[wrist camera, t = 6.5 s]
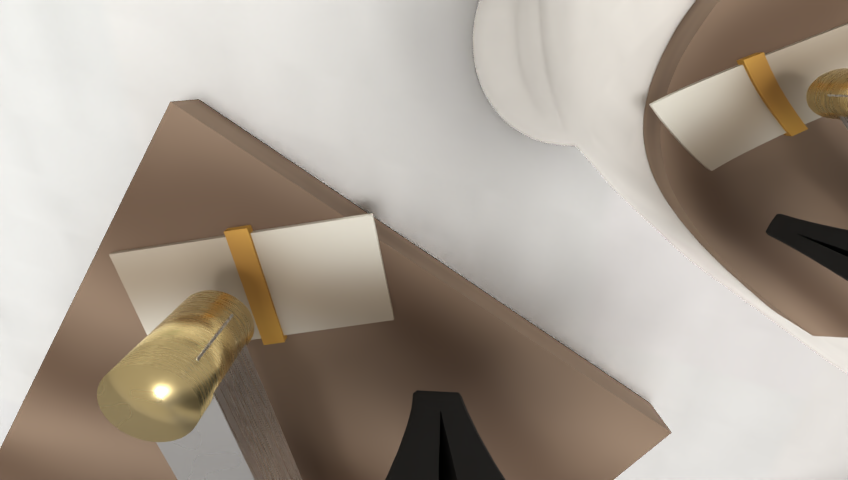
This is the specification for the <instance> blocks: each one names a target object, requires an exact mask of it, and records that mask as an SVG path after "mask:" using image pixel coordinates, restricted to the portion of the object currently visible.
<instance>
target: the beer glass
mask: <svg viewBox="0 0 848 480" xmlns="http://www.w3.org/2000/svg"><path fill="white" fill-rule="evenodd" d="M473 58H474V64H475V69H476V73H477V77H478V80H479V83H480V85H481V88H482V90H483V92H484V94H485V96H486V98H487V100H488V101H489V103H490V105H491V106H492V107H493V109H494V110H495V111H496V113H497V114H498V115H499V116H500V117H501V118H502V119H503V120H504V121H505V122H506V123H507V124H508V125H510V126H511V127H512V128H513V129H515V130H516V131H518V132H520V133H521V134H523V135H525V136H527V137H529V138H532V139H534V140H537V141H540V142H544V143H548V144H553V145H562V146H576V147H577V148H578V149H579V151H580V152H581V153H582V154H583V155H584V156H585V158H586V159H587V160H588V161H589V162H590V163H591V165H592V166H593V167H594V168H595V169H596V170H597V172H598V173H599V174H600V175H601V176H602V177H603V179H604V180H605V181H606V182H607V183H608V184H609V185H610V186H611V188H612V189H613V190H614V191H615V192H616V193H617V194H618V195H619V196H620V197H621V198H622V199H623V200H624V201H626V202H627V203H628V204H629V205H630V206H631V207H632V208H633V209H634V210H635V211H636V212H637V213H638V214H639V215H640V216H641V217H643V218H644V219H645V220H646V221H647V222H648V223H649V224H650V225H651V226H652V227H653V228H654V229H655V230H656V231H657V232H658V233H660V234H661V235H662V236H663V237H664V238H665V239H666V240H667V241H668V242H669V243H670V244H671V245H672V246H673V247H674V248H675V249H677V250H678V251H679V252H680V253H681V254H682V255H683V256H685V257H686V258H687V259H688V260H689V261H690V262H692V263H693V264H694V265H696V266H697V267H698V268H700V269H701V270H702V271H704V272H705V273H707V274H708V275H709V276H711V277H712V278H713V279H715V280H716V281H718V282H719V283H720V284H722V285H723V286H724V287H726V288H727V289H728V290H730V291H731V292H733V293H734V294H735V295H737V296H738V297H739V298H741V299H742V300H744V301H745V302H746V303H748V304H749V305H750V306H752V307H753V308H755V309H756V310H757V311H759V312H760V313H761V314H763V315H764V316H766V317H767V318H768V319H770V320H771V321H772V322H774V323H775V324H776V325H778V326H779V327H781V328H782V329H783V330H785V331H786V332H787V333H789V334H790V335H792V336H793V337H794V338H796V339H797V340H798V341H800V342H801V343H803V344H804V345H805V346H807V347H808V348H809V349H811V350H812V351H814V352H815V353H816V354H818V355H819V356H820V357H822V358H823V359H824V360H826V361H827V362H829V363H830V364H832V365H834V366H835V367H837V368H838V369H840V370H841V371H843V372H844V373H846V374H848V0H479V3H478V6H477V10H476V14H475V19H474V25H473Z"/></svg>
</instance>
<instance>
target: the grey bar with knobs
mask: <svg viewBox="0 0 848 480" xmlns="http://www.w3.org/2000/svg"><path fill="white" fill-rule="evenodd" d="M253 334H254V321H253V317H252V315H251V313H250V311H249V310H248V308H247V307H246V306H245V305H244V304H243V303H242V302H241V301H240V300H238V299H237V298H235V297H234V296H232V295H230V294H227V293H224V292H221V291H215V290H205V291H200V292H197V293H194V294H192V295H191V296H189V297H188V298H187V299H185V300H184V301H183V302H182V303H181V304H180V305H179V306H178V307H177V308H176V309H175V310H174V311H173V312H172V313H171V314H170V315H169V316H168V317H166V318H165V319H164V320H163V321H162V322H161V323H160V324H159V325H158V326H157V327H156V328H155V329H154V330H153V331H152V332H151V333H150V334H148V335H147V336H146V337H145V338H144V339H143V340H142V341H141V342H140V343H139V344H138V345H137V346H136V347H135V348H134V349H133V350H132V351H130V352H129V353H128V354H127V355H126V356H125V357H124V358H123V359H122V360H121V361H120V362H119V363H118V364H117V365H116V366H115V367H114V368H113V369H111V370H110V371H109V372H108V373H107V374H106V375H105V376H104V377H103V378H102V380H101V382H100V383H99V386H98V389H97V400H98V404H99V407H100V409H101V411H102V413H103V414H104V416H105V417H106V418H107V420H108V421H109V422H110V423H111V424H112V425H114V426H115V427H116V428H118V429H119V430H120V431H122V432H124V433H125V434H128V435H130V436H132V437H134V438H137V439H141V440H144V441H150V442H156V443H157V445H158V447H159V448H160V450H161V452H162V454H163V455H164V457H165V459H166V460H167V462H168V464H169V466H170V467H171V469H172V471H173V473H174V474H175V476H176V478H177V480H302V478H301V475H300V473H299V470H298V468H297V466H296V463H295V461H294V459H293V456H292V454H291V451H290V449H289V447H288V444H287V442H286V439H285V437H284V435H283V432H282V430H281V427H280V425H279V423H278V420H277V418H276V416H275V413H274V411H273V408H272V406H271V404H270V401H269V399H268V396H267V394H266V392H265V389H264V387H263V384H262V382H261V380H260V377H259V375H258V373H257V370H256V368H255V365H254V363H253V361H252V358H251V356H250V353H249V351H248V349H247V345H248V344H249V342H250V341H251V339H252V337H253Z"/></svg>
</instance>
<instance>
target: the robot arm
mask: <svg viewBox="0 0 848 480" xmlns="http://www.w3.org/2000/svg"><path fill="white" fill-rule="evenodd" d="M385 480H505V478H504V477H503V475H502V473H501V472H500V470H499V469H498V467H497V465H496V464H495V462H494V460H493V459H492V457H491V455H490V453H489V452H488V450H487V448H486V446H485V444H484V443H483V441H482V439H481V437H480V435H479V433H478V431H477V429H476V427H475V425H474V423H473V421H472V419H471V417H470V415H469V413H468V410H467V408H466V406H465V403H464V401H463V398H462V396H461V395H460V394H459V392H440V391H420V390H417V391H415V392H414V393H413V398H412V407H411V412H410V416H409V419H408V423H407V426H406V429H405V432H404V435H403V438H402V441H401V444H400V446H399V449H398V452H397V454H396V456H395V459H394V461H393V463H392V465H391V468H390V470H389V472H388V475H387V477H386V479H385Z"/></svg>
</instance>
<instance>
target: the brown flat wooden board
mask: <svg viewBox="0 0 848 480" xmlns="http://www.w3.org/2000/svg"><path fill="white" fill-rule="evenodd" d="M205 290H215V291H221V292H224V293H227V294H230V295H232V296H234V297H235V298H237V299H238V300H240V301H241V302H242V303H243V304H244V305H245V306H246V307H247V308H248V310H249V311H250V313H251V315H252V317H253V321H254V334H253V337H252V339H251V341H250V342H249V344H248V345H247V349H248V351H249V353H250V356H251V358H252V361H253V363H254V365H255V368H256V370H257V373H258V375H259V377H260V380H261V382H262V384H263V387H264V389H265V392H266V394H267V396H268V399H269V401H270V404H271V406H272V408H273V411H274V413H275V416H276V418H277V420H278V423H279V425H280V427H281V430H282V432H283V435H284V437H285V439H286V442H287V444H288V447H289V449H290V451H291V454H292V456H293V459H294V461H295V463H296V466H297V468H298V470H299V473H300V475H301V478H302V480H385V479H386V477H387V475H388V472H389V470H390V468H391V465H392V463H393V461H394V459H395V456H396V454H397V452H398V449H399V446H400V444H401V441H402V438H403V435H404V432H405V429H406V426H407V423H408V419H409V416H410V412H411V407H412V398H413V393H414V392H415V391H417V390H420V391H440V392H459V394H460V395H461V396H462V398H463V401H464V403H465V406H466V408H467V410H468V413H469V415H470V417H471V419H472V421H473V423H474V425H475V427H476V429H477V431H478V433H479V435H480V437H481V439H482V441H483V443H484V444H485V446H486V448H487V450H488V452H489V453H490V455H491V457H492V459H493V460H494V462H495V464H496V465H497V467H498V469H499V470H500V472H501V473H502V475H503V477H504V478H505V480H614V479H615V478H616V477H617V476H619V475H620V474H621V473H622V472H623V471H625V470H626V469H627V468H628V467H630V466H631V465H632V464H633V463H635V462H636V461H637V460H638V459H640V458H641V457H642V456H643V455H645V454H646V453H647V452H648V451H649V450H651V449H652V448H653V447H654V446H656V445H657V444H658V443H659V442H661V441H662V440H663V439H664V438H666V437H667V436H668V435H669V434H670V433H671V431H670V430H669V428H668V427H667V426H666V424H665V423H664V422H663V420H662V419H661V417H660V416H659V415H658V413H657V412H656V411H655V409H654V408H653V406H652V405H651V404H650V403H649V402H648V401H646V400H645V399H643V398H642V397H640V396H639V395H637V394H636V393H634V392H633V391H631V390H630V389H628V388H627V387H625V386H624V385H622V384H621V383H619V382H618V381H616V380H615V379H613V378H612V377H610V376H609V375H607V374H606V373H604V372H603V371H601V370H600V369H598V368H597V367H596V366H594V365H593V364H591V363H590V362H588V361H587V360H585V359H584V358H582V357H581V356H579V355H578V354H576V353H575V352H573V351H572V350H570V349H569V348H567V347H566V346H564V345H563V344H561V343H560V342H558V341H557V340H555V339H554V338H552V337H551V336H549V335H548V334H546V333H545V332H544V331H542V330H541V329H539V328H538V327H536V326H535V325H533V324H532V323H530V322H529V321H527V320H526V319H524V318H523V317H521V316H520V315H518V314H517V313H515V312H514V311H512V310H511V309H509V308H508V307H506V306H505V305H503V304H502V303H500V302H499V301H497V300H496V299H494V298H493V297H491V296H490V295H489V294H487V293H486V292H484V291H483V290H481V289H480V288H478V287H477V286H475V285H474V284H472V283H471V282H469V281H468V280H466V279H465V278H463V277H462V276H460V275H459V274H457V273H456V272H454V271H453V270H451V269H450V268H448V267H447V266H445V265H444V264H442V263H441V262H439V261H438V260H437V259H435V258H434V257H432V256H431V255H429V254H428V253H426V252H425V251H423V250H422V249H420V248H419V247H417V246H416V245H414V244H413V243H411V242H410V241H408V240H407V239H405V238H404V237H402V236H401V235H399V234H398V233H396V232H395V231H393V230H392V229H390V228H389V227H387V226H386V225H384V224H383V223H382V222H380V221H379V220H377V219H376V218H374V216H373V213H369V214H368V213H367V212H365V211H364V210H362V209H361V208H359V207H358V206H356V205H355V204H353V203H352V202H350V201H349V200H347V199H346V198H344V197H343V196H341V195H340V194H338V193H337V192H335V191H334V190H332V189H331V188H329V187H328V186H327V185H325V184H324V183H322V182H321V181H319V180H318V179H316V178H315V177H313V176H312V175H310V174H309V173H307V172H306V171H304V170H303V169H301V168H300V167H298V166H297V165H295V164H294V163H292V162H291V161H289V160H288V159H286V158H285V157H283V156H282V155H280V154H279V153H277V152H276V151H275V150H273V149H272V148H270V147H269V146H267V145H266V144H264V143H263V142H261V141H260V140H258V139H257V138H255V137H254V136H252V135H251V134H249V133H248V132H246V131H245V130H243V129H242V128H240V127H239V126H237V125H236V124H234V123H233V122H231V121H230V120H228V119H227V118H225V117H224V116H222V115H221V114H220V113H218V112H217V111H215V110H214V109H212V108H211V107H209V106H208V105H206V104H205V103H203V102H202V101H200V100H199V99H197V100H185V101H174V102H170V104H169V106H168V108H167V110H166V112H165V114H164V116H163V118H162V120H161V122H160V124H159V126H158V128H157V130H156V132H155V134H154V136H153V138H152V140H151V142H150V144H149V146H148V148H147V151H146V153H145V155H144V157H143V159H142V161H141V163H140V165H139V167H138V169H137V171H136V173H135V175H134V177H133V179H132V181H131V183H130V185H129V187H128V189H127V191H126V193H125V195H124V197H123V199H122V202H121V204H120V206H119V208H118V210H117V212H116V214H115V216H114V218H113V220H112V222H111V224H110V226H109V228H108V230H107V232H106V234H105V236H104V238H103V240H102V242H101V244H100V246H99V248H98V250H97V252H96V255H95V257H94V259H93V261H92V263H91V265H90V267H89V269H88V271H87V273H86V275H85V277H84V279H83V281H82V283H81V285H80V287H79V289H78V291H77V293H76V295H75V297H74V299H73V301H72V303H71V305H70V308H69V310H68V312H67V314H66V316H65V318H64V320H63V322H62V324H61V326H60V328H59V330H58V332H57V334H56V336H55V338H54V340H53V342H52V344H51V346H50V348H49V350H48V352H47V354H46V356H45V359H44V361H43V363H42V365H41V367H40V369H39V371H38V373H37V375H36V377H35V379H34V381H33V383H32V385H31V387H30V389H29V391H28V393H27V395H26V397H25V399H24V401H23V403H22V405H21V407H20V409H19V412H18V414H17V416H16V418H15V420H14V422H13V424H12V426H11V428H10V430H9V432H8V434H7V436H6V438H5V440H4V442H3V444H2V446H1V448H0V480H177V478H176V476H175V474H174V473H173V471H172V469H171V467H170V466H169V464H168V462H167V460H166V459H165V457H164V455H163V454H162V452H161V450H160V448H159V447H158V445H157V443H156V442H150V441H144V440H141V439H137V438H134V437H132V436H130V435H128V434H125V433H124V432H122V431H120V430H119V429H118V428H116V427H115V426H114V425H112V424H111V423H110V422H109V421H108V420H107V418H106V417H105V416H104V414H103V413H102V411H101V409H100V407H99V404H98V400H97V389H98V386H99V383H100V382H101V380H102V378H103V377H104V376H105V375H106V374H107V373H108V372H109V371H110V370H111V369H113V368H114V367H115V366H116V365H117V364H118V363H119V362H120V361H121V360H122V359H123V358H124V357H125V356H126V355H127V354H128V353H129V352H130V351H132V350H133V349H134V348H135V347H136V346H137V345H138V344H139V343H140V342H141V341H142V340H143V339H144V338H145V337H146V336H147V335H148V334H150V333H151V332H152V331H153V330H154V329H155V328H156V327H157V326H158V325H159V324H160V323H161V322H162V321H163V320H164V319H165V318H166V317H168V316H169V315H170V314H171V313H172V312H173V311H174V310H175V309H176V308H177V307H178V306H179V305H180V304H181V303H182V302H183V301H184V300H185V299H187V298H188V297H189V296H191V295H192V294H194V293H197V292H200V291H205Z"/></svg>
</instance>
